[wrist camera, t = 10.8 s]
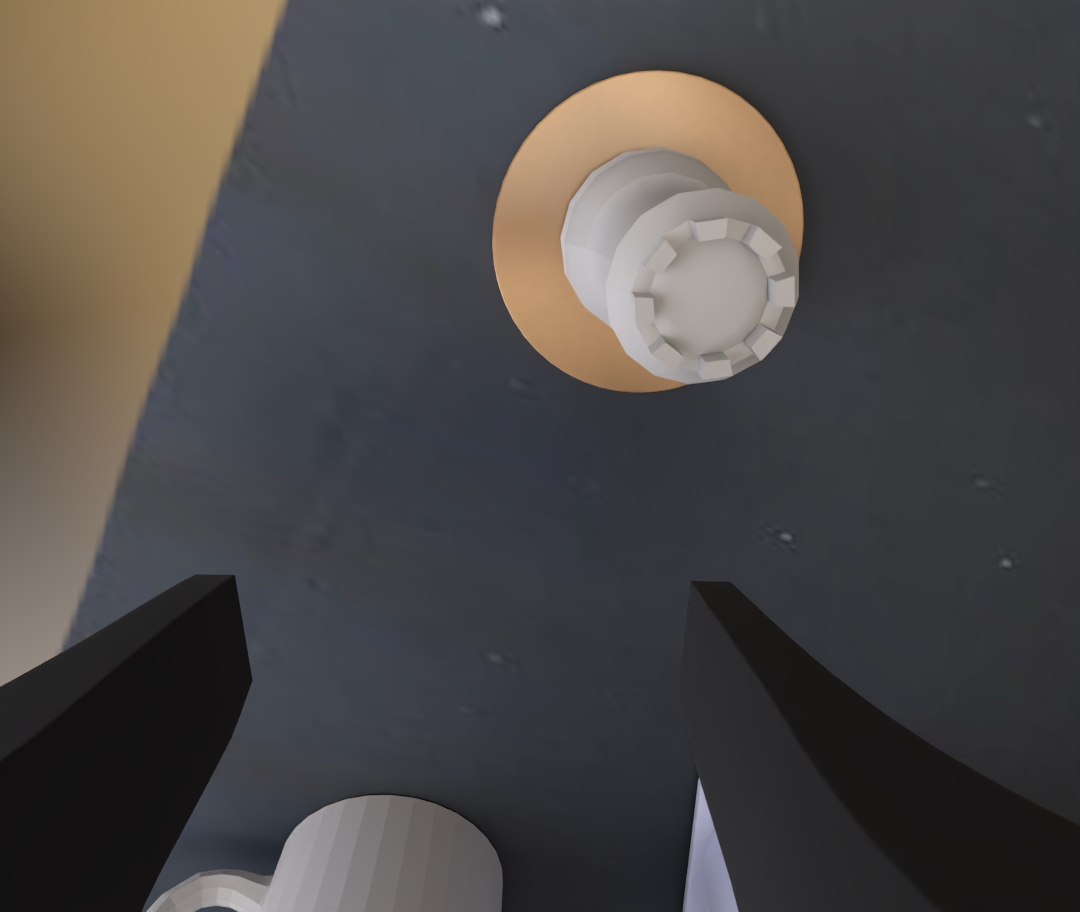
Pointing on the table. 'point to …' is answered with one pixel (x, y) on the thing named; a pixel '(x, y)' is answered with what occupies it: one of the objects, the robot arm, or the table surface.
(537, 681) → the table surface
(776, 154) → the coaster
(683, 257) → the rook chess piece
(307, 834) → the mug
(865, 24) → the table surface
